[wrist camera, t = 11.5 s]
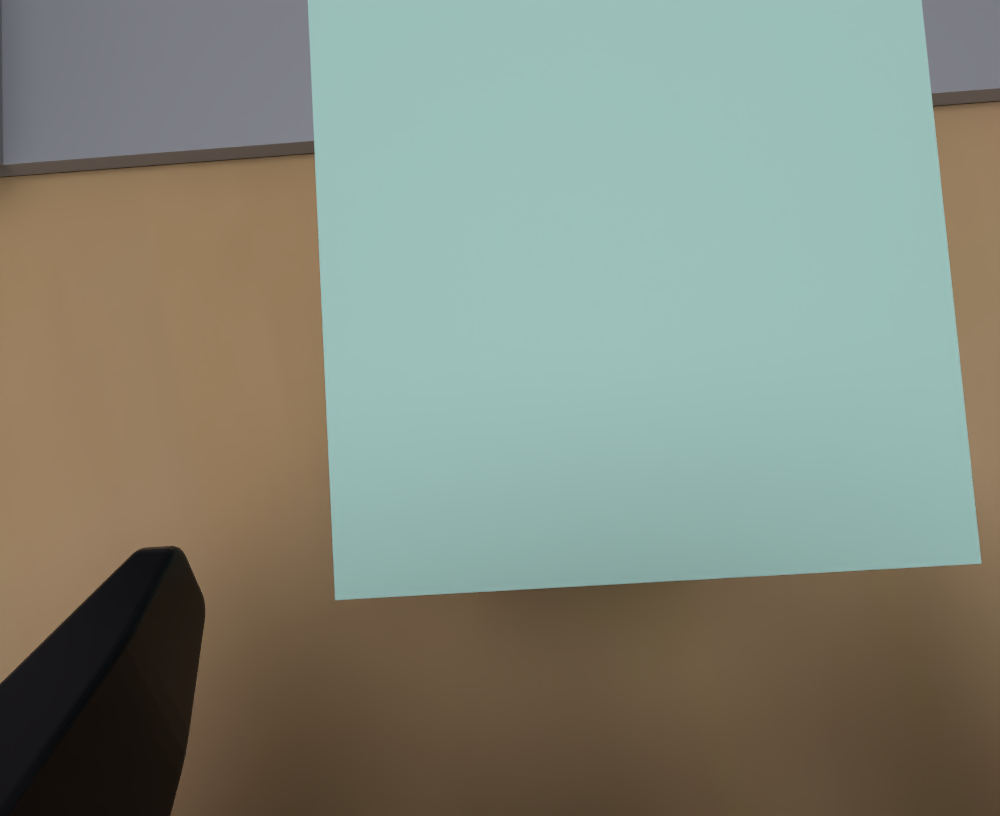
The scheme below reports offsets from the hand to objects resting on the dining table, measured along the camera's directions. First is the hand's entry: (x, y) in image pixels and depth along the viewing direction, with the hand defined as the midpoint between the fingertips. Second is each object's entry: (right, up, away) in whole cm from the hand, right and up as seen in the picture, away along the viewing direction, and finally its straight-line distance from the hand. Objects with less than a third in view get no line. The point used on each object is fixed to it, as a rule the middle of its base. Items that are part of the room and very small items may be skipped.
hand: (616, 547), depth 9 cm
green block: (0, +2, +8) cm, 8 cm away
